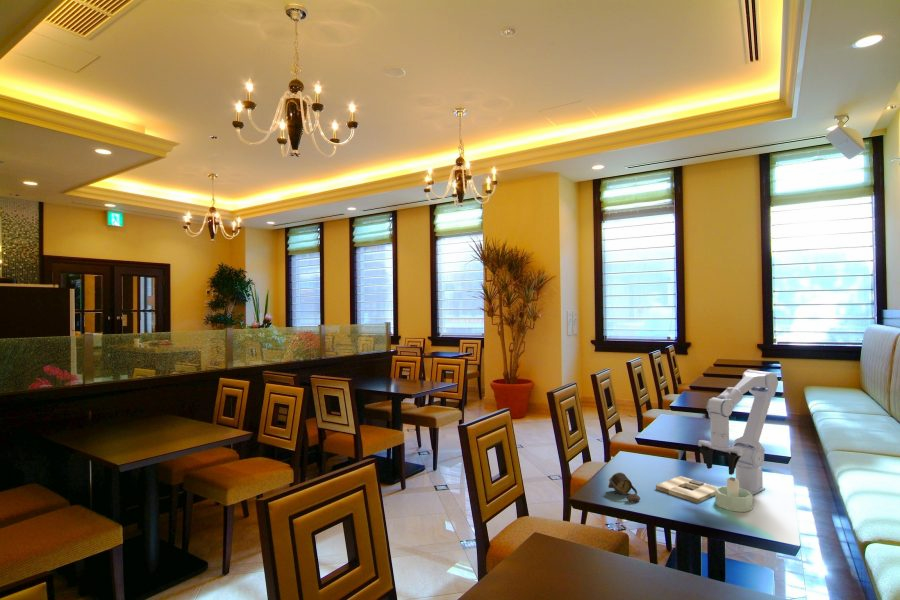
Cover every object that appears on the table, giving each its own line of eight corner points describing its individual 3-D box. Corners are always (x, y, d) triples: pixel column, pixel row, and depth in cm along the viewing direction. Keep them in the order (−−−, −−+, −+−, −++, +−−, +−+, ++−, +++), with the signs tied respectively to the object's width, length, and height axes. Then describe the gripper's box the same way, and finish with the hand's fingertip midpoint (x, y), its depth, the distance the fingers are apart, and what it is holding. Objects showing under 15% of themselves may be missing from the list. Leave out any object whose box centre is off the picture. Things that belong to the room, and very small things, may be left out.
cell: (730, 500, 174) (729, 475, 174) (741, 503, 171) (740, 478, 171) (725, 503, 172) (724, 478, 172) (736, 506, 169) (735, 480, 169)
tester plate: (680, 479, 196) (680, 474, 196) (721, 492, 183) (721, 486, 183) (655, 489, 187) (655, 483, 187) (697, 503, 174) (697, 497, 174)
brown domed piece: (636, 474, 187) (609, 468, 189) (644, 484, 175) (615, 476, 176) (632, 494, 187) (605, 487, 188) (640, 505, 174) (611, 497, 176)
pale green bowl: (725, 496, 179) (725, 483, 179) (758, 506, 170) (758, 493, 170) (709, 503, 173) (708, 490, 173) (742, 514, 164) (742, 501, 164)
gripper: (693, 430, 182) (694, 467, 182) (735, 438, 170) (736, 479, 170) (704, 426, 186) (704, 463, 186) (745, 435, 174) (746, 474, 174)
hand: (720, 471), depth 178 cm, fingers open, 7 cm apart
